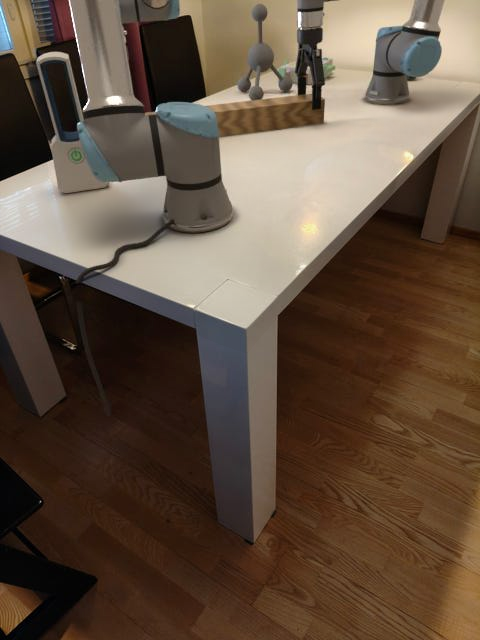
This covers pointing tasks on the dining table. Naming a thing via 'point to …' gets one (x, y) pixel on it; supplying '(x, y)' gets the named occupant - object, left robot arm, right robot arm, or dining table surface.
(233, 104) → the long wooden beam
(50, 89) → the electronic device
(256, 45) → the molecular model
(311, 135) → the dining table surface
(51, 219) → the dining table surface
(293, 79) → the clip lid food container
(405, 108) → the dining table surface
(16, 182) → the dining table surface
